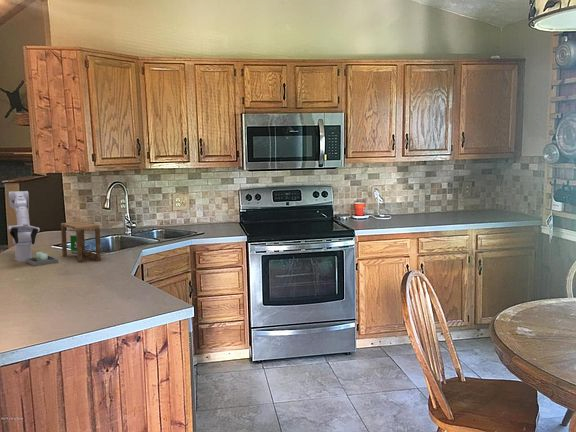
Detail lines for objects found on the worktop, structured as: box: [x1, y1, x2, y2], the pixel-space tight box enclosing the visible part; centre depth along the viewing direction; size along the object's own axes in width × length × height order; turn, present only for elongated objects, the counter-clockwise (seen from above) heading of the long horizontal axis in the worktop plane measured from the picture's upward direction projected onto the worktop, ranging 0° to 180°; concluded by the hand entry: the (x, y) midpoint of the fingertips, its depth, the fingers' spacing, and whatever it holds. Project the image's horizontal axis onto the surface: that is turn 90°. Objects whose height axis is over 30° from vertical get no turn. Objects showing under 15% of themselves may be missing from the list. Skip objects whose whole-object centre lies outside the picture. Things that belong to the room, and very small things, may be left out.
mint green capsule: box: [40, 253, 49, 261], centre depth 266 cm, size 4×4×5 cm
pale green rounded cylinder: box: [35, 251, 44, 262], centre depth 270 cm, size 4×4×5 cm
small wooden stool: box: [60, 221, 102, 263], centre depth 280 cm, size 22×12×19 cm, turn 45°
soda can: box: [69, 231, 77, 254], centre depth 298 cm, size 8×8×12 cm
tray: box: [25, 255, 59, 267], centre depth 268 cm, size 12×12×3 cm
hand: (25, 243), depth 258 cm, fingers open, 7 cm apart
